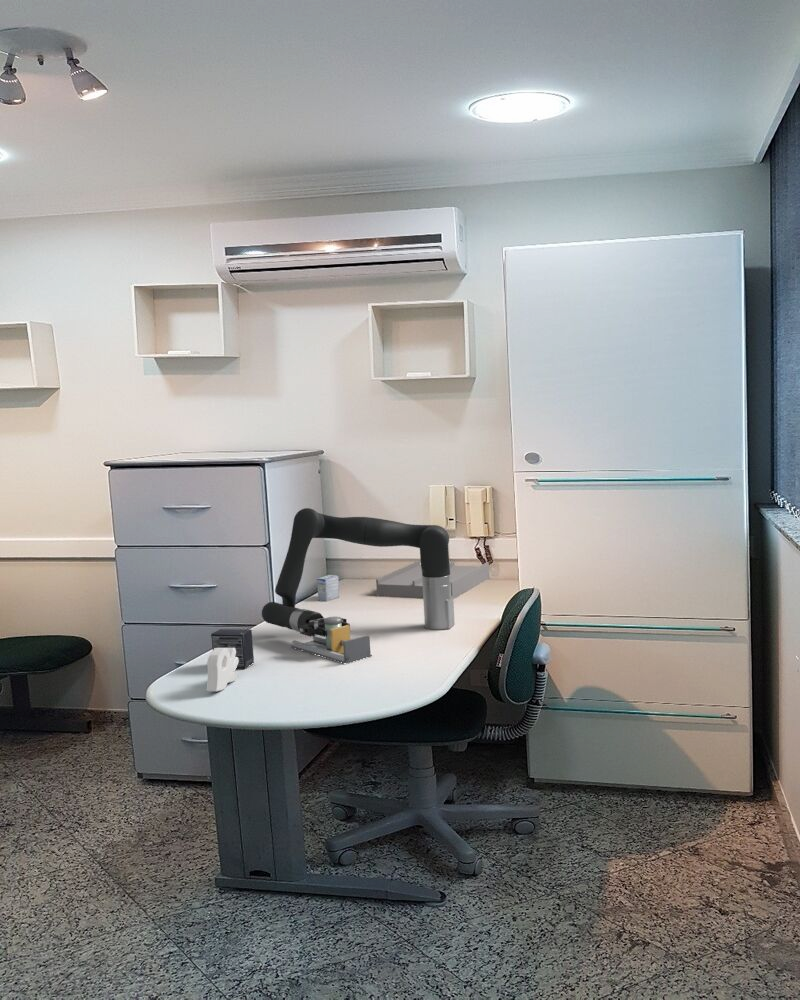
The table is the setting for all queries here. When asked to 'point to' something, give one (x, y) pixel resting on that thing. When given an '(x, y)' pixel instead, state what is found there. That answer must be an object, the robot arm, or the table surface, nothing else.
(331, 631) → the pusher plate
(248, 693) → the table surface
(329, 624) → the green jar
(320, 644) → the pusher lane
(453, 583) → the desk organizer
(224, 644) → the small box
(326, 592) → the medicine box
